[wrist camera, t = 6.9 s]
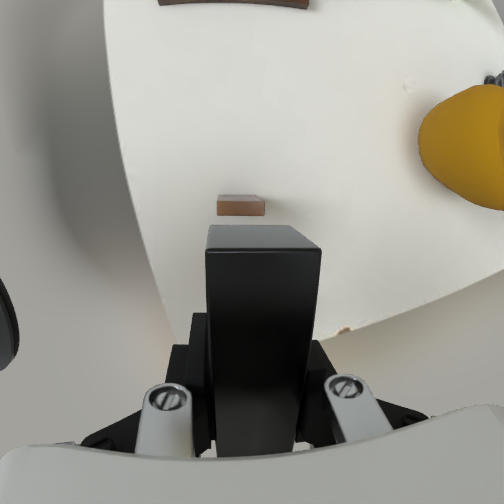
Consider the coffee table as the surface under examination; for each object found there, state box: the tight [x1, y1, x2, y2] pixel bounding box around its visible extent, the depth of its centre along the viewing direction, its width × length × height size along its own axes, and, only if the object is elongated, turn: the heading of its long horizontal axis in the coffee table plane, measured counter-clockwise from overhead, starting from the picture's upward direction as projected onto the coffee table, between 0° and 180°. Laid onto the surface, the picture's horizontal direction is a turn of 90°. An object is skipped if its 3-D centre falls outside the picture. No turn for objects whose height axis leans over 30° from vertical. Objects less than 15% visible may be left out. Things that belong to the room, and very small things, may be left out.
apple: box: [418, 84, 504, 211], centre depth 19 cm, size 11×11×13 cm
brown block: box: [217, 195, 265, 216], centre depth 24 cm, size 3×9×6 cm, turn 178°
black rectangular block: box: [205, 225, 322, 458], centre depth 11 cm, size 2×10×8 cm, turn 178°
